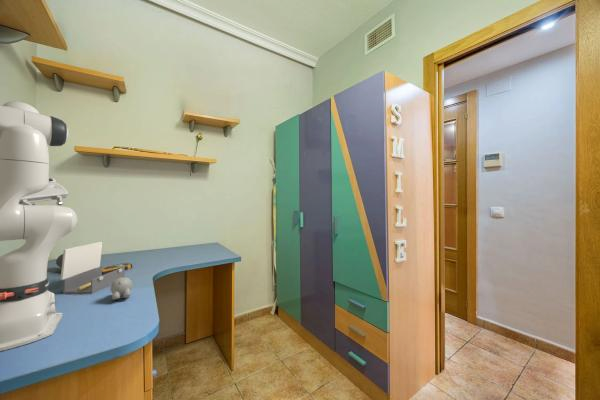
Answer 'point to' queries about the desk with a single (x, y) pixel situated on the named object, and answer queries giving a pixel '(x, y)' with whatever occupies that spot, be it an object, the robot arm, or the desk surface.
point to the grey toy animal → (121, 288)
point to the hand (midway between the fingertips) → (48, 206)
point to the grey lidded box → (91, 281)
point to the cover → (81, 259)
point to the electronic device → (115, 267)
